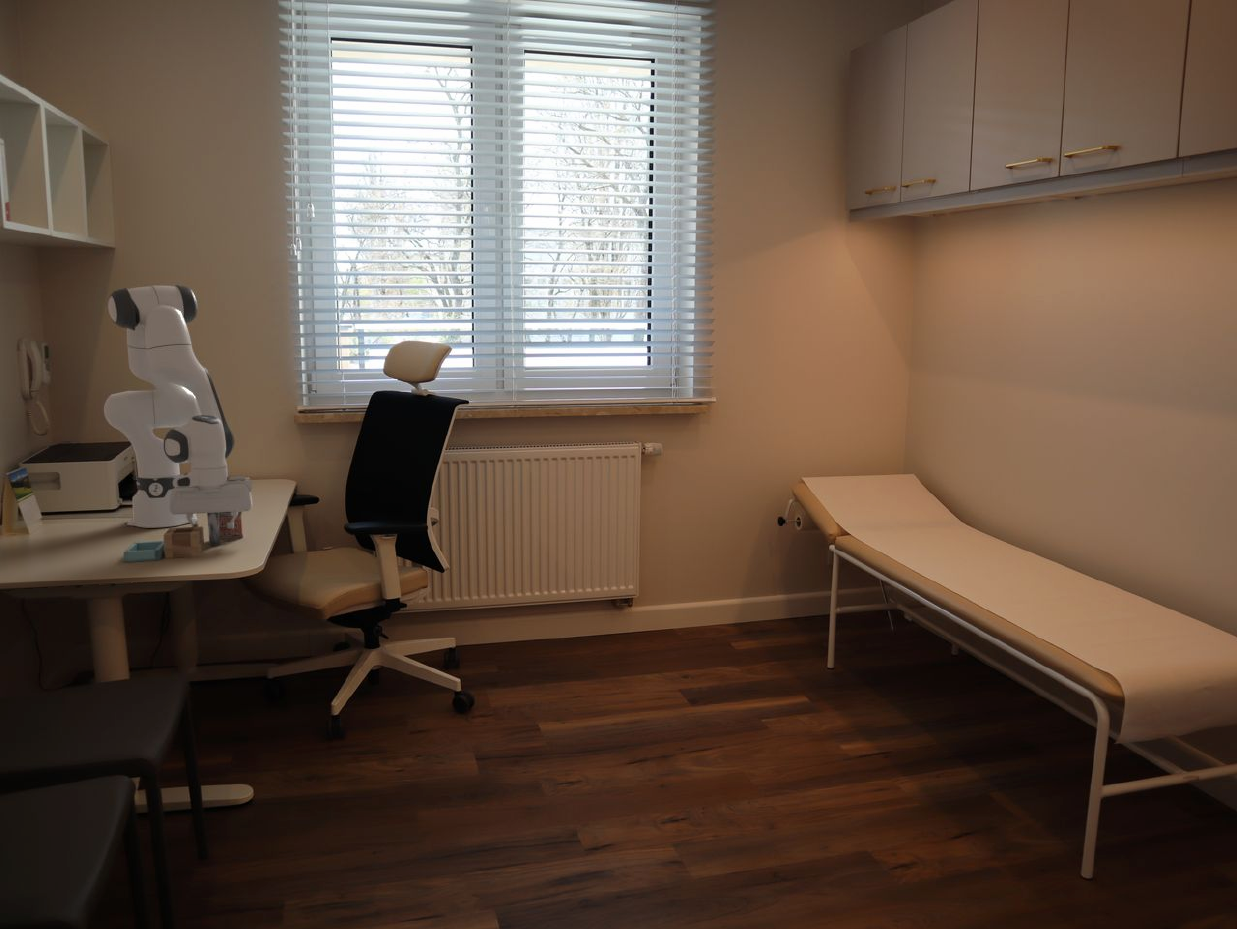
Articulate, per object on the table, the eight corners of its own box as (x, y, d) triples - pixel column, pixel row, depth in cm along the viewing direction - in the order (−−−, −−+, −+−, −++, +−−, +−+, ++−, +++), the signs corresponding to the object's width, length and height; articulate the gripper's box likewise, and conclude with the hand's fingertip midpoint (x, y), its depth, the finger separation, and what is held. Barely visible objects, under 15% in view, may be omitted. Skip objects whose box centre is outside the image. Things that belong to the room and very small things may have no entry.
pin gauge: (210, 544, 264) (207, 503, 262) (221, 543, 264) (218, 503, 263) (208, 546, 261) (205, 505, 259) (219, 546, 262) (217, 505, 260)
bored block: (171, 550, 256) (169, 528, 255) (204, 549, 258) (203, 526, 257) (165, 558, 249) (163, 534, 248) (199, 556, 251) (197, 533, 250)
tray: (134, 551, 255) (133, 542, 255) (168, 550, 257) (167, 540, 257) (124, 562, 245) (123, 552, 244) (159, 560, 246) (158, 550, 246)
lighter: (243, 536, 273) (240, 500, 271) (243, 539, 270) (241, 503, 268) (211, 538, 270) (209, 502, 268) (211, 541, 267) (208, 505, 265)
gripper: (253, 474, 265) (256, 524, 267) (171, 477, 260) (174, 528, 262) (250, 477, 259) (253, 529, 261) (166, 481, 254) (169, 533, 256)
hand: (213, 529), depth 262 cm, fingers open, 7 cm apart
